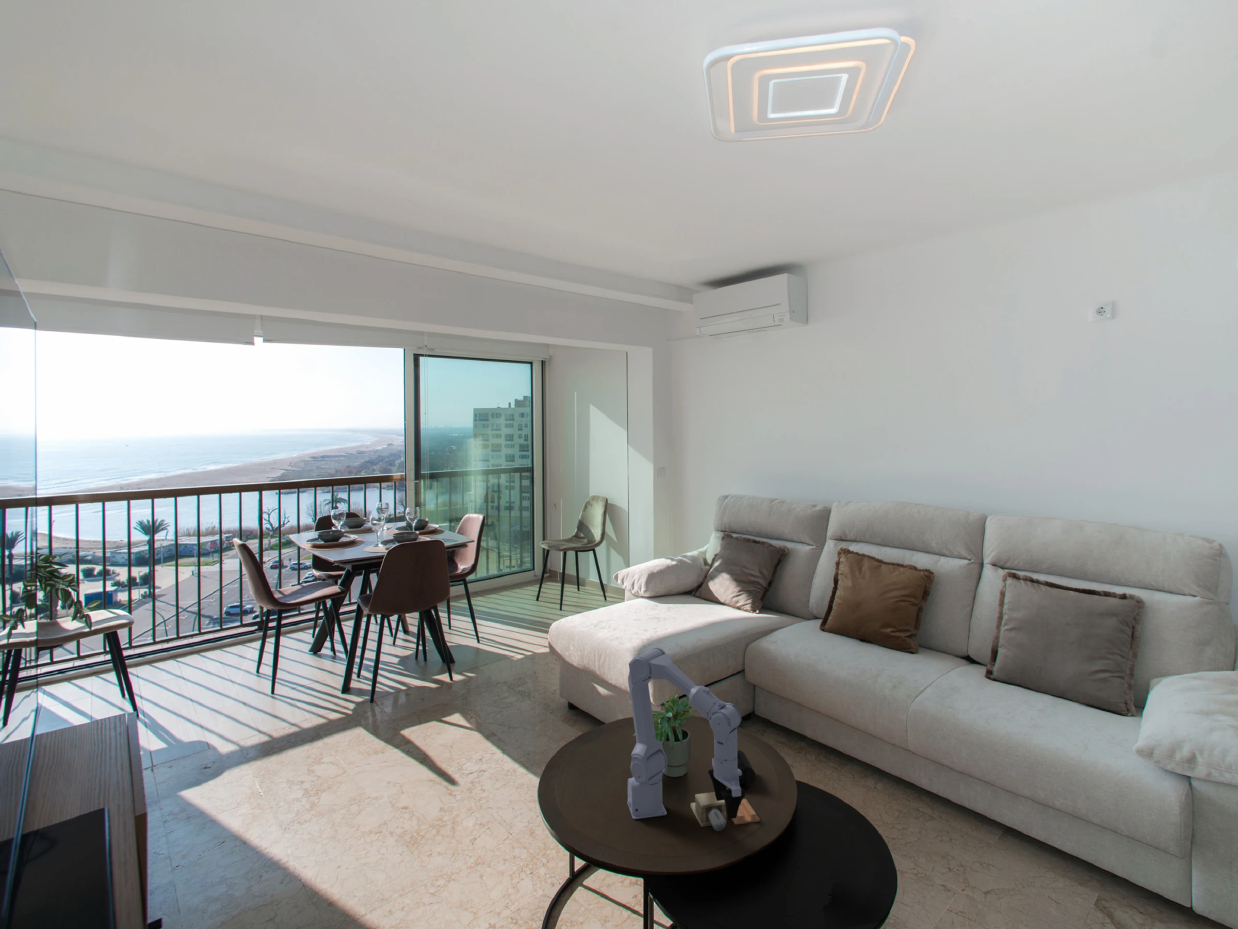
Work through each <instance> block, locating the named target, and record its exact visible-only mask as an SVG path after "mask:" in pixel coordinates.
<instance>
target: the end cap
mask: <svg viewBox="0 0 1238 929" xmlns="http://www.w3.org/2000/svg"><path fill="white" fill-rule="evenodd" d="M749 760H750V759H748V757H747V755H746V754H745V752H744V751H742V750H738V749H737V769H740V770H741V772H742V775H741V776H738V777H739V785H740V787H741V789H743V790H745V789H748V788H749V787H751V786H753V785H754V783H755V782H756V778H757V774H756V772H755V769H754V768H753V765H751V762H750V761H749Z"/></svg>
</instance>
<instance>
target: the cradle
mask: <svg viewBox="0 0 1238 929" xmlns="http://www.w3.org/2000/svg"><path fill="white" fill-rule="evenodd" d="M731 820H732V822H733V824H734V825H741V824H748V823H754V822H756V823H757V822H760V821H761V820H760V818H759V816H758V815H757V813H756V811H755V810H754V808H753V807H752V806H751V805H750V803H749V801H748V800H747V798H743V799H742V801H741V803H740V806H739V809H738V813H737V817H736V818H734V819H731Z"/></svg>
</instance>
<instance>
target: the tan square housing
mask: <svg viewBox="0 0 1238 929" xmlns="http://www.w3.org/2000/svg"><path fill="white" fill-rule="evenodd" d="M694 795H695V796H694V800H695V801H694V802H690V809H691V810H692V811H693V814H694V816H695V817H696V819H697V821H698V823H699V825H700V827H703V828H704V827H710V826H712V824H711V823H710V821H709V819H708V817H707V816H706V807H709V806H717V807H718V809H719V811H720V812H721V814H722V816H723V817H724V819H725V821H726V822H727V814H726V806H725V801H724V800H720V801H717V800H716V796H715V792H714V791H713V792H712V791H710V792H704V793H696V794H694Z"/></svg>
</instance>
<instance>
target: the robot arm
mask: <svg viewBox="0 0 1238 929" xmlns="http://www.w3.org/2000/svg"><path fill="white" fill-rule="evenodd" d="M628 668H629V669H628V670H629V672H628V675H627V685H628V689H629V690H628V691H629V698H630V704H631V706H630V707H631V711H632V719H633V725H634V732H635V740H636V743H635V746H634V747H633V750H632V752H631V754H630V755H631V757H630V758H631V762H630V768H629V769H630V772H631V776H632V777H631V778H628V779H627V801H626V802H627V806H628V809H629V812H630V815H631V817H632V819H633V820H638V819H646V818H653V817H661V816H666V815H667V810H666V808H665V805H664V804H663V775H664V770H665V769H666V768H667V766H668V758H667V757H668V756H667V755H666V752H665V751H664V747H663V746H664V745H663V743H661V742H660V741H658V740H657V738H656V737H657V736H656V730H655V724H654V715H653V708H652V701H651V693H650V686H649V683H650V682H651V681H652V680H666V681H667V682H669V683H670V684H671V685H672V686H674V688H676V689H678V690H679V691H681V692H682V693H683V694H685V695H686V696H687V697H688V701H689V705H690V706H692V707H693V708H694V709H695V710H696V711H697V712H699V714H701V715H702V716H703V717H704V718H705V719H706V720H708V722H709V723H708V724H709V726H710V728H711V730H712V732H713V738H714V739H713V744H714V745H713V748H714V749H713V753H714V756H713V758H711V766H712V768H713V769H708V771H707V773H708V775H709V778H710V780H711V783H712V787H713V790H714V791H713V792H715V796H716V800H717V801H720V800H724V801H725V806H726V818H727V819H728V820H732V819H734V818H736V817H737V813H738V809H739V806H740V805H741V801H742V799H745V796H746V792H745V789H741V787H740V785H739V777H738V776H741V775H742V772H741V770H740V769H737V750H738V726H739V725H740V724H741V722H742V715H741V712H740V710H739V709H738V707H736V705H735V704H734V703H731V702H725V701H723V700H721V699H720V698H718V697H717V695H715V694H714V693H713V692H711V689H710V688H708V687H707V686H706V687H705V685H696V684H695V683H694V682H693V680H691V679H690V678H689V677H688V676H687V675H686V674H685V673H684V672H683V671H682V670H681V669H680V668H679V667H678V666H677V665H676V664H675V663H673V661H672V657H671V656H670V655H669V653H667V652H666V651H664V649H662V648H660V647H654V648H652V649H650V650H648V651H646V652H644V653H641V654H638V655H636V656H634V657H633V658H632V659H631V660H630V661H629V663H628ZM727 787H728V789H727Z"/></svg>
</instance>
